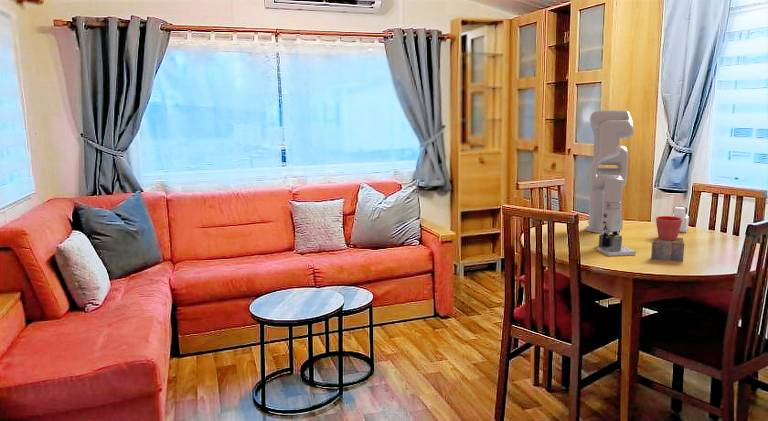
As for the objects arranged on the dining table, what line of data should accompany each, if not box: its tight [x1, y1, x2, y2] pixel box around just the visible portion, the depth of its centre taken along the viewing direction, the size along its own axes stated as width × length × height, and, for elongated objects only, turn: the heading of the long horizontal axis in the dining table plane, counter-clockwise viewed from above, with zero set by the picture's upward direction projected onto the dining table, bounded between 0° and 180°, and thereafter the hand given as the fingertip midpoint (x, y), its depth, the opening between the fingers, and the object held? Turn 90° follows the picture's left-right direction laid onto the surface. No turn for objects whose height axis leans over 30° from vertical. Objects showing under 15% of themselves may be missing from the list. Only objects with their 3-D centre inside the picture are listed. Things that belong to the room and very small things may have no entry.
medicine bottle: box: [671, 205, 690, 233], centre depth 284 cm, size 7×7×12 cm
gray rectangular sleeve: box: [598, 233, 623, 247], centre depth 253 cm, size 7×6×5 cm
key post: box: [596, 238, 637, 257], centre depth 242 cm, size 10×12×6 cm
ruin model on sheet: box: [650, 236, 685, 262], centre depth 230 cm, size 11×3×10 cm, turn 72°
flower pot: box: [655, 215, 682, 241], centre depth 267 cm, size 11×11×10 cm
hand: (610, 245), depth 253 cm, fingers closed on gray rectangular sleeve, 5 cm apart
